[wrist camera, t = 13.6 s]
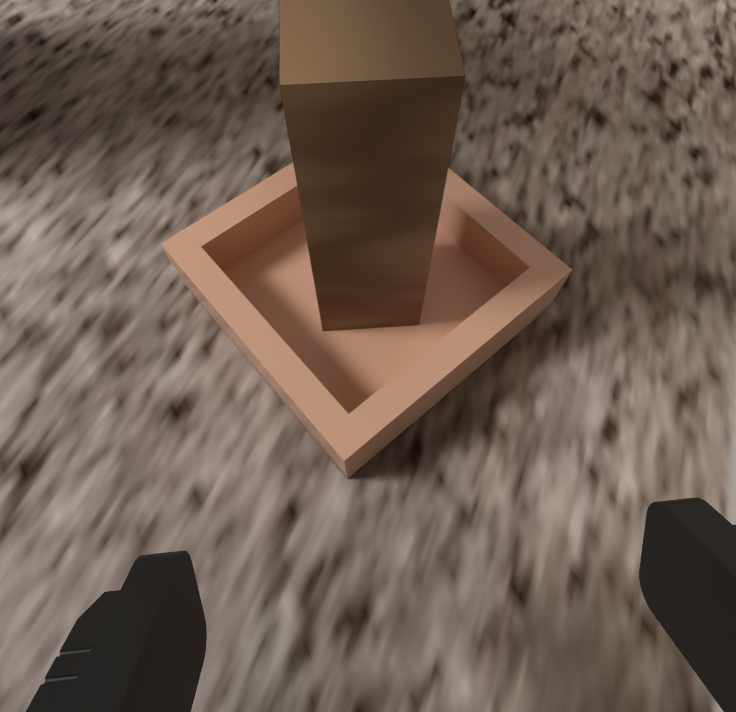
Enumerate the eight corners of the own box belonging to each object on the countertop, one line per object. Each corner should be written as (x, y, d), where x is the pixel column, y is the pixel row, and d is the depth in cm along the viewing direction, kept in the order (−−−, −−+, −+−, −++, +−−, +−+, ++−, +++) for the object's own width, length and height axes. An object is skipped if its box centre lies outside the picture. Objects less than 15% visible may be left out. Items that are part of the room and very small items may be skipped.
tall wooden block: (322, 331, 19) (279, 84, 10) (319, 251, 20) (279, -29, 11) (419, 325, 19) (465, 75, 10) (409, 245, 20) (441, -35, 11)
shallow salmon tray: (183, 283, 20) (160, 243, 18) (377, 157, 23) (378, 109, 21) (347, 478, 17) (344, 461, 15) (549, 306, 20) (572, 269, 18)
